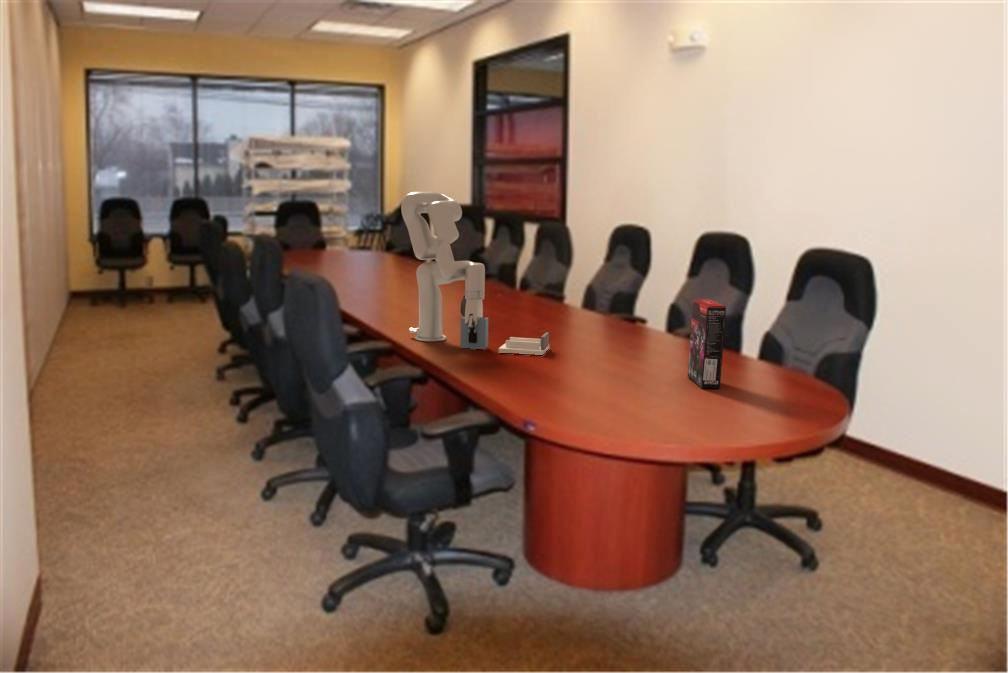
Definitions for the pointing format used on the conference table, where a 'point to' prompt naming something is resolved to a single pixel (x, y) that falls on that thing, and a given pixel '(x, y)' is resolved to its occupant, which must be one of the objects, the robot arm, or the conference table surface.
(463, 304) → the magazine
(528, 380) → the conference table surface
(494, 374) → the conference table surface
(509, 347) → the cream railed panel
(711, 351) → the graphics card box
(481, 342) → the gray rectangular block
